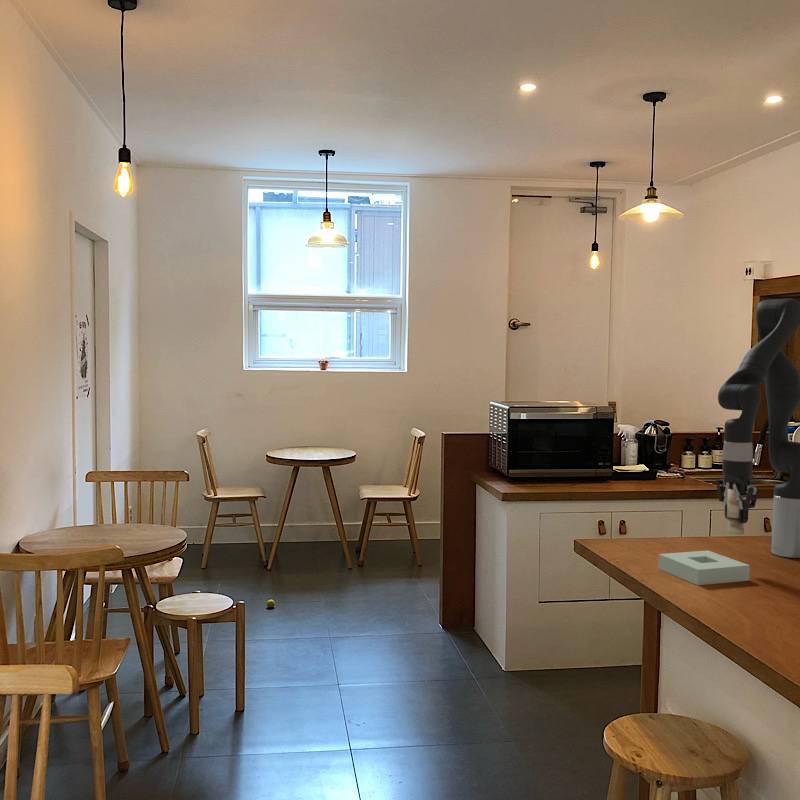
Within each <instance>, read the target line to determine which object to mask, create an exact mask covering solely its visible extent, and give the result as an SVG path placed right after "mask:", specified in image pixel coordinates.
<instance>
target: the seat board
mask: <svg viewBox="0 0 800 800" xmlns="http://www.w3.org/2000/svg"><path fill="white" fill-rule="evenodd" d="M750 567H751V565H749V564H748V563H744V562H742V561H739V560H736V559H733V558H730V557H728V556H724V555H722V554H719V553H716V552H714V551H711V550H697V551H694V550H693V551H683V552H672V553H671V552H668V553H659V554H658V567H657V568H658V569H659V570H661V571H663V572H665V573H667V574H670V575H672V576H674V577H676V578H678V579H679V578H680V579H682V580H683V581H686V582H689V583H691V584H694V585H696V586H703V585H705V586H706V585H716V584H726V583H727V584H728V583H738V582H746V581H747V582H748V581H750V572H751V571H750V570H751V568H750Z"/></svg>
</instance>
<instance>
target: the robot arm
mask: <svg viewBox="0 0 800 800" xmlns="http://www.w3.org/2000/svg"><path fill="white" fill-rule="evenodd" d="M755 322H756V326H757V332H758V337H759V341H758V342H757V343H756V344H755V345H754V346H752V348H750V349H749V350H748V351H747V352H746V354H745V355H744V357H743V359H742V361H741V363H740V365H739V367H738V368H737V370H736V371H735V372H734V373H733V374H732V375H731V376H729V377H728V379H727V380H726V381H725V382H723V384H722V386H721V387H720V388H719V391H718V394H717V401H718V402H717V403H718V404H719V405H720V407H722V409H724V410H728V411H741V413H740V415H739V417H737V418H731V419H728V420H726V421H725V423H724V429H723V430H724V431H723V432H724V433H723V434H724V436H723V448H722V469H721V471H722V474H723V476H724V478H723V479H717V480H716V481H715V483H716V484H715V485H716V489H717V497H718V501H719V502H722V503H723V505H724V516H725V517H724V518H725V519H727V520H728V518H727V497H728V489H734V490H736V500H737V501H738V502H739V507H740V509H739V522H740V523H744V524H746V523H748V521H749V510H750V509H753V508H754V509H755V507H756V504H757V499H758V495H759V493H760V492H759V491H760V488H759V487H758V486H753V485H752V483H751V477H752V476H753V471H754V469H753V468H754V466H753V465H754V463H753V462H754V446H753V438H754V437H753V431H754V429H753V428H754V423H755V422H756V417H757V413H758V411H759V407H760V405H761V401H762V393H761V390H760V389H759V386H760V385H761V384H762V383H763V382H764V388H765V389H764V390H765V396H766V398H765V399H766V405H767V415H768V460H769V463H770V466H771V469H773V470H774V471H777V472H781V473H787V474H790V480H788V481H787V482H783V483H779V484H776V485H775V486H774V489H773V506H772V507H773V509H772V526H771V528H772V529H771V554H773V555H775V556H780V557H785V558H792V559H793V558H795V559H796V558H798V559H799V558H800V442H797V441H790V440H789V438H788V434H789V433H788V428H789V423H790V421H791V419H792V416H793V415H794V413H795V411H796V410H797V408H798V406H799V404H800V373H799V372H798V369H797V368H796V367H795V366H794V364H793V362H792V361H791V360H790V359H789V357H788V356H787V355H786V353H784V351H783V348H784V347H785V345H786V344H787V343H788V341H789V340H790V339H791V338H792V337H793V335H794V333H795V332H796V331H797V329H799V327H800V301H799V300H798V299H795V298H791V297H790V298H788V297H787V298H775V299H764V300H761V301H760V302H759V303H758V304H757V307H756V311H755ZM745 494H746V497H741V496H740V495H745ZM743 500H745V504H743Z"/></svg>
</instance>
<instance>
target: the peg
mask: <svg viewBox="0 0 800 800" xmlns="http://www.w3.org/2000/svg"><path fill="white" fill-rule="evenodd" d="M740 496H741V497H746V494H745V495H740ZM743 504H745V500H743ZM739 509H740V507H739V502H738V501H737V500H736V490H734V489H728V497H727V518H728V519H727V533H728V534H730V535H736V536H737V535H739V536H740V535H741V536H742V535H744V534H745V523H740V522H739Z"/></svg>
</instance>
